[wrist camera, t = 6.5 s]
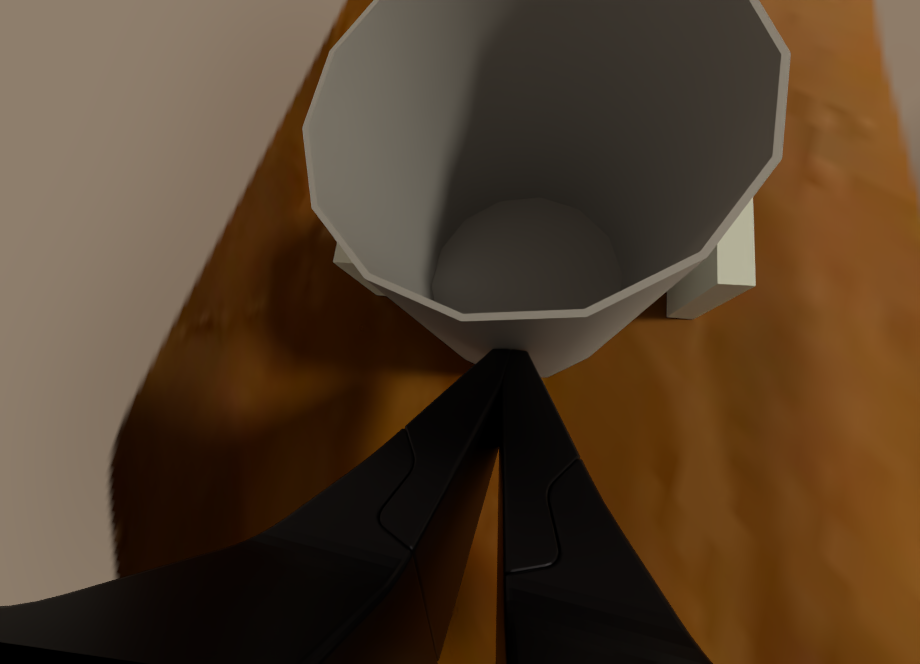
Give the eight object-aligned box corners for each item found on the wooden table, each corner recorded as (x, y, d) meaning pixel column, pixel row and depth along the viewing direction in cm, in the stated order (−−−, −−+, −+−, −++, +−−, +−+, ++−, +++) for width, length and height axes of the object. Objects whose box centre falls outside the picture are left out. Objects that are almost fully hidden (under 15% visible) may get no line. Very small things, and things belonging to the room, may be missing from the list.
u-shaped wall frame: (693, 319, 14) (755, 285, 10) (376, 295, 17) (332, 262, 13) (694, 92, 16) (746, -6, 12) (412, 105, 19) (383, 29, 15)
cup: (457, 194, 17) (372, -69, 8) (632, 212, 16) (804, -105, 6) (415, 358, 16) (247, 280, 6) (602, 399, 14) (763, 378, 4)
